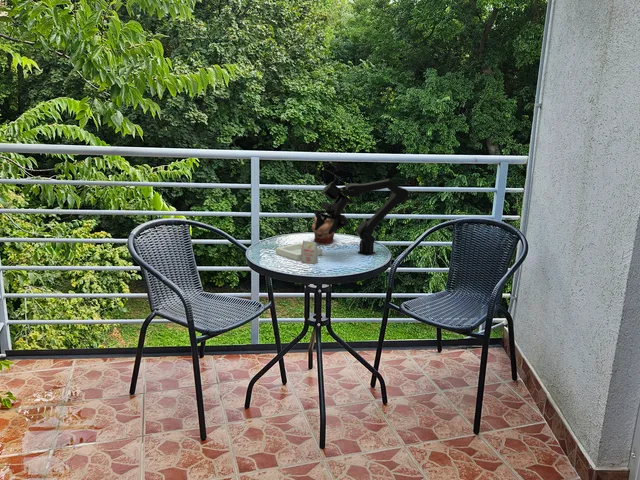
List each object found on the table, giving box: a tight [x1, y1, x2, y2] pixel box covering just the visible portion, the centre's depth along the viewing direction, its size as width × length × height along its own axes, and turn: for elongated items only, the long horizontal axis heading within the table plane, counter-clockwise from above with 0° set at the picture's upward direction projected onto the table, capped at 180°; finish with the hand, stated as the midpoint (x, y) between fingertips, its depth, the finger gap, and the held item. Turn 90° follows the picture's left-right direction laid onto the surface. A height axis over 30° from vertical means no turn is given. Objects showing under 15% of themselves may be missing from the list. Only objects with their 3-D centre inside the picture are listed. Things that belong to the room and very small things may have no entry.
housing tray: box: [275, 242, 323, 262], centre depth 272 cm, size 16×16×3 cm
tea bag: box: [300, 240, 319, 265], centre depth 259 cm, size 4×7×10 cm, turn 64°
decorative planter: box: [311, 215, 336, 245], centre depth 296 cm, size 20×12×14 cm, turn 164°
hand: (321, 231), depth 262 cm, fingers open, 9 cm apart
